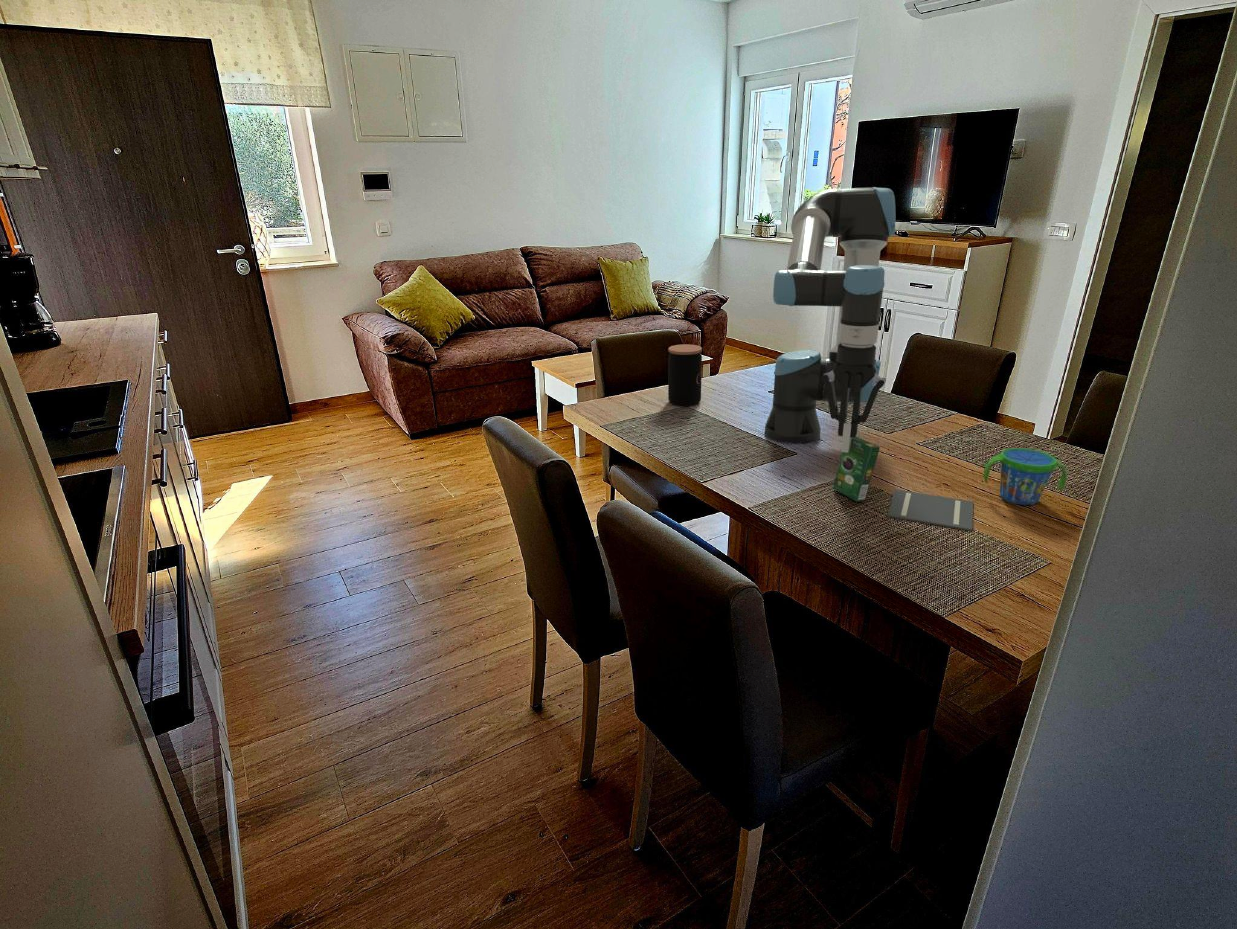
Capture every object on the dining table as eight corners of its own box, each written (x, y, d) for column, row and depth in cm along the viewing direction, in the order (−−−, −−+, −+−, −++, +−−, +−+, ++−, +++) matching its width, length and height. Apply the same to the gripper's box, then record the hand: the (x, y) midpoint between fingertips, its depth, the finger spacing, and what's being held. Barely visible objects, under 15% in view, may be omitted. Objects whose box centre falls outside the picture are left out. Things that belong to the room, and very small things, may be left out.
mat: (887, 516, 142) (887, 514, 142) (894, 490, 153) (895, 489, 153) (971, 531, 135) (972, 529, 135) (973, 503, 147) (973, 501, 146)
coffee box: (866, 502, 149) (881, 445, 144) (857, 502, 147) (871, 446, 143) (841, 488, 155) (854, 434, 151) (831, 489, 154) (845, 434, 150)
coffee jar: (702, 407, 214) (703, 351, 207) (669, 407, 215) (669, 352, 208) (699, 397, 224) (700, 343, 217) (667, 398, 224) (667, 344, 218)
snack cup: (1055, 494, 149) (1065, 451, 146) (1065, 514, 140) (1076, 469, 137) (977, 485, 155) (985, 444, 151) (981, 504, 146) (990, 461, 142)
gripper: (821, 345, 138) (811, 451, 147) (888, 350, 133) (874, 460, 142) (828, 338, 145) (819, 440, 154) (893, 342, 139) (879, 448, 148)
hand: (845, 450), depth 148 cm, fingers closed
